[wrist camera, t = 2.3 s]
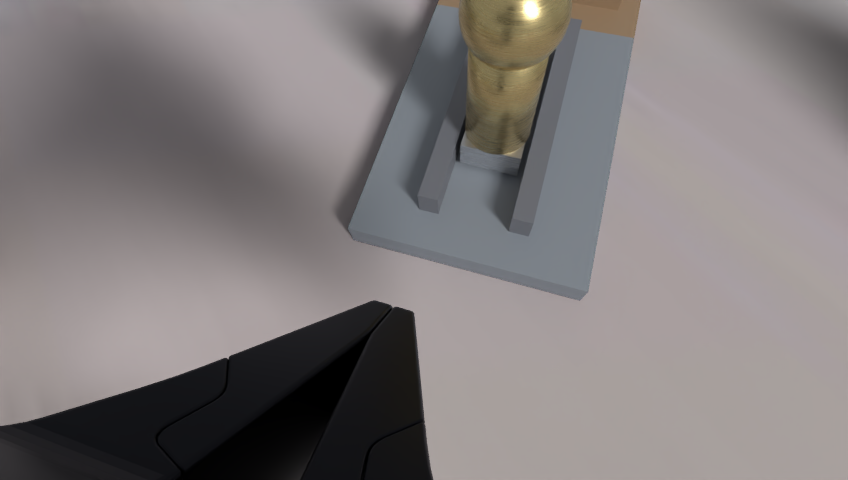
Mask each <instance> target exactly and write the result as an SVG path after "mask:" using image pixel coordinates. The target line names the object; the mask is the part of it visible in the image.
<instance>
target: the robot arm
mask: <svg viewBox="0 0 848 480" xmlns="http://www.w3.org/2000/svg"><path fill="white" fill-rule="evenodd" d="M424 423H425V421H424V410H423V400H422V390H421V379H420V369H419V359H418V348H417V338H416V328H415V317H414V313H413V312H412V311H410V310H406V309H403V308H399V307H394V308H393V307H392V306H391V305H389V304H385V303H382V302H378V301H370V302H368V303H365V304H363V305H360V306H357V307H355V308H352V309H350V310H347V311H345V312H342V313H339V314H337V315H334V316H332V317H329V318H327V319H324V320H321V321H319V322H316V323H314V324H311V325H309V326H306V327H303V328H301V329H298V330H296V331H293V332H291V333H288V334H285V335H283V336H280V337H278V338H275V339H273V340H270V341H267V342H265V343H262V344H260V345H257V346H255V347H252V348H249V349H247V350H244V351H242V352H239V353H236V354H234V355H231V356H230V357H229V359H227V358H223V359H221V360H218V361H216V362H213V363H210V364H208V365H205V366H202V367H200V368H197V369H194V370H191V371H189V372H186V373H183V374H180V375H178V376H175V377H172V378H169V379H166V380H163V381H160V382H157V383H153V384H150V385H147V386H144V387H141V388H138V389H135V390H131V391H128V392H125V393H122V394H118V395H115V396H112V397H108V398H105V399H102V400H99V401H95V402H92V403H89V404H85V405H82V406H79V407H76V408H72V409H69V410H66V411H62V412H59V413H56V414H53V415H49V416H46V417H42V418H39V419H35V420H31V421H28V422H23V423H17V424H12V425H5V426H0V480H433V476H432V472H431V467H430V460H429V453H428V446H427V438H426V428H425V424H424Z"/></svg>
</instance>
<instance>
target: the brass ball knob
mask: <svg viewBox="0 0 848 480" xmlns="http://www.w3.org/2000/svg"><path fill="white" fill-rule="evenodd" d="M571 13H572V0H460V2H459V13H458V14H459V25H460V30H461V34H462V36H463V39H464V41H465V43H466V45H467V47H468V68H467V95H466V123H465V133H464V136H463V139H462V142H461V145H460V163H462V164H467V165H471V166H475V167H480V168H484V169H489V170H493V171H497V172H502V173H506V174H510V175H515V176H517V173H518V170H519V166H520V162H521V158H522V154H523V151H524V147H525V143H526V141H527V139H528V137H529V135H530V131H531V127H532V123H533V119H534V115H535V111H536V107H537V103H538V99H539V95H540V91H541V87H542V83H543V79H544V75H545V71H546V67H547V63H548V59H549V55H550V54H551V53H552V52H553V51H554V50H555V49H556V48H557V46H558V45H559V44H560V42H561V41H562V39H563V37H564V35H565V33H566V31H567V28H568V26H569V23H570V18H571Z"/></svg>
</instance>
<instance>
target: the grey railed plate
mask: <svg viewBox="0 0 848 480" xmlns="http://www.w3.org/2000/svg"><path fill="white" fill-rule="evenodd" d="M459 2H460V0H439V1H438V4H437V6H436V9H435V11H434V14H433V16H432V19H431V21H430V24H429V26H428V29H427V31H426V34H425V36H424V39H423V41H422V44H421V46H420V49H419V51H418V54H417V56H416V59H415V61H414V64H413V66H412V69H411V71H410V74H409V76H408V79H407V81H406V84H405V86H404V89H403V91H402V94H401V96H400V99H399V101H398V104H397V106H396V109H395V111H394V114H393V116H392V119H391V121H390V124H389V126H388V129H387V131H386V134H385V136H384V139H383V141H382V144H381V146H380V149H379V151H378V154H377V156H376V159H375V161H374V164H373V166H372V169H371V171H370V174H369V176H368V179H367V181H366V184H365V186H364V189H363V191H362V194H361V196H360V199H359V201H358V204H357V206H356V209H355V211H354V214H353V216H352V219H351V221H350V224H349V226H348V230H349V232H350V234H351V236H352V238H353V240H356V241H360V242H363V243H367V244H371V245H374V246H378V247H382V248H386V249H389V250H393V251H397V252H401V253H404V254H408V255H412V256H415V257H419V258H423V259H427V260H430V261H434V262H438V263H442V264H445V265H449V266H453V267H457V268H460V269H464V270H468V271H471V272H475V273H479V274H483V275H486V276H490V277H494V278H498V279H501V280H505V281H509V282H513V283H516V284H520V285H524V286H527V287H531V288H535V289H539V290H542V291H546V292H550V293H554V294H557V295H561V296H565V297H568V298H572V299H576V300H581V299H582V298H583V297H584V296H585V295H586V294H587V292H588V289H589V284H590V278H591V273H592V267H593V262H594V256H595V251H596V245H597V239H598V234H599V228H600V223H601V217H602V212H603V206H604V201H605V195H606V190H607V184H608V179H609V173H610V168H611V162H612V157H613V151H614V146H615V140H616V135H617V129H618V124H619V118H620V113H621V107H622V101H623V96H624V90H625V85H626V79H627V74H628V68H629V63H630V57H631V52H632V46H633V41H634V35H635V30H636V24H637V19H638V13H639V8H640V2H641V0H572V13H571V18H570V23H569V26H568V28H567V31H566V33H565V35H564V37H563V39H562V41H561V42H560V44H559V45H558V46H557V48H556V49H555V50H554V51H553V52H552V53H551V54H550V55H549V59H548V63H547V67H546V71H545V75H544V79H543V83H542V87H541V91H540V95H539V99H538V103H537V107H536V111H535V115H534V119H533V123H532V127H531V131H530V135H529V137H528V139H527V141H526V143H525V147H524V151H523V154H522V158H521V162H520V166H519V170H518V173H517V176H515V175H510V174H506V173H502V172H497V171H493V170H489V169H484V168H480V167H475V166H471V165H467V164H462V163H460V145H461V142H462V139H463V136H464V133H465V123H466V95H467V68H468V47H467V45H466V43H465V41H464V39H463V36H462V34H461V30H460V25H459V14H458V13H459Z"/></svg>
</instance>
